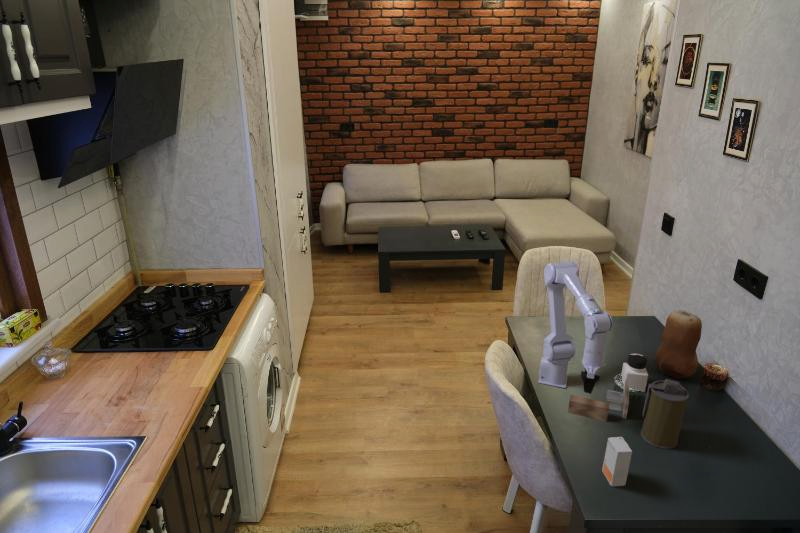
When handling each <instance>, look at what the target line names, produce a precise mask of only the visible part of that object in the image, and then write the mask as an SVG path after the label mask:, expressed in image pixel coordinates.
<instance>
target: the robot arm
mask: <svg viewBox="0 0 800 533" xmlns="http://www.w3.org/2000/svg"><path fill="white" fill-rule="evenodd" d="M543 274H544V285H545V287H547V291H548V292H547V293H548V308H549V322H550V333H549V334H547V336H546V337H545V338H544V339H543V349H542V352H543V355H542V356H541V360H540V365H539V366H540V368H539V369H538V382H537V383H539V384H543V385H548V386H553V387H558V388H562V389H566V387H567V383H568V382H567V381H568V379H569V378H568V375H567V374H568V367H569V362H571V360H572V358H574V357H575V354H576V346H575V343H574V338H573V336H571V335H570V334H568V333H567V324H566V310H565V299H564V298H565V297H564V289H565V287H567V289H569V291H570V292H571V293H572V295H573V296H574V298H575V299H576V302H575V306H576V307H577V309H578V310H579V313H580V314H581V315H582V317H583V319H584V322H583V323H584V330H585V331H584V334H585V342H584V349H583V356H582V358H581V363H582V365H583V367H584V371H583V370H581V373H580V378H581V379H582V383H583V384H582V385H583V392H584V393H585V394H590V395H591V394H592V393H593V390H594V388H595V386H596V384H598V382H599V381H600V379H601V375H598V374H596V373H597V372H598V371H599V370H600V369H601V368H605V367H606V366H607V364H606V361H603V358H604V351H605V346H606V340H607V334H608V332H610V331H611V330H612V329H613V325H614V324H613V320H612V316H611V315H610V313H609V312H608V311H605V310H603V309H602V308H601V307H600V305H599V304H598V303H597V301H596V299H595V298H594V297H593V295H591V294H588V293H587V291H586V290H585V287H584V286H583V283H582V281H581V280H580V277H579V275H580V270H579V267H578V264H577V263H576V262H575V261H573V260H572V261H566V262H555V263H554V262H553V263H551V262H549V263H547V264H546V266H545V267H544V269H543Z"/></svg>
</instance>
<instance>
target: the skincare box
mask: <svg viewBox="0 0 800 533" xmlns="http://www.w3.org/2000/svg"><path fill="white" fill-rule="evenodd" d="M632 455H633V450H632V449H631V447H630V446H629V444H628V443H627V442H626V441H625V439H624V437H623V436H612V437H608V438H607V442H606V448H605V453H604V458H603V464H602V469H601V472H602V473H603V475H604V476H605V478H606V480H607V482H608V483H609V485H610V487H624V486H626V483H627V478H628V475H629V469H630V465H631V459H632Z"/></svg>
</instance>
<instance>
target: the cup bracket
mask: <svg viewBox="0 0 800 533" xmlns="http://www.w3.org/2000/svg"><path fill="white" fill-rule="evenodd" d="M605 398H606V403H609V410H613V411H618V412H622V411H623V407H624V393H623V392H621V391H616V390H611V389H607V391H606V395H605Z"/></svg>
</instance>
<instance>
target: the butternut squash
mask: <svg viewBox="0 0 800 533" xmlns="http://www.w3.org/2000/svg"><path fill="white" fill-rule="evenodd" d="M702 323H703V322H702V320H701V318H700V317H699V316H697V315H695V314H693V313H691V312H688V311H687V310H683V309H677V310H674V311H672V312H670V314H668V316H667V318H666V321H665V325H664V330H663V332H662V334H661V339H662V342H661V343H660V345H659V346H658V348H657V350H656V352H655V353H656V354H655V357H654V358H653V359H654V362H655V364H656V367H657V368H658V369H659V371H660V372H662V373H663V374H664V375H667V376H669V377H671V378H672V379H680V380H681V379H687V378H689V377H691V376H693V375H695V373H696V371H697V369H698V366H699V360H698V354H697V348H698V346H699V343H700V341H701V338H702V328H703V324H702Z"/></svg>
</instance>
